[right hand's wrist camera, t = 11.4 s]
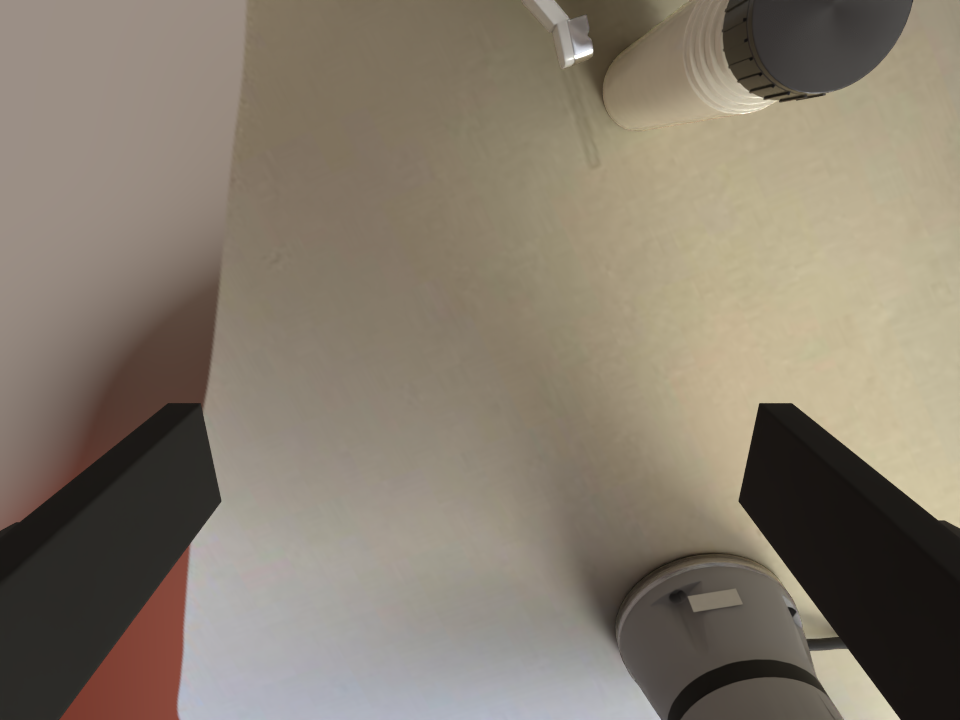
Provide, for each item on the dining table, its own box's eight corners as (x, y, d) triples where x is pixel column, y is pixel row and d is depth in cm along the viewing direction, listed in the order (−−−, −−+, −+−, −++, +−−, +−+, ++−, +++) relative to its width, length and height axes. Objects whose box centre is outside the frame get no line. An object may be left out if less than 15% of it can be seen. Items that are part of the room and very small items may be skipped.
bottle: (632, 148, 33) (791, 138, 16) (586, 83, 32) (706, -1, 15) (697, 92, 32) (940, 18, 15) (652, 23, 31) (863, -143, 14)
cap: (766, 133, 18) (800, 130, 16) (692, 13, 16) (719, -5, 15) (893, 30, 17) (945, 14, 15) (823, -105, 15) (871, -142, 14)
